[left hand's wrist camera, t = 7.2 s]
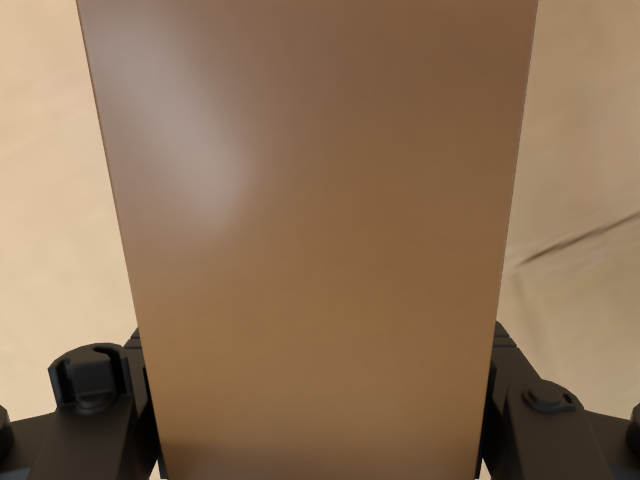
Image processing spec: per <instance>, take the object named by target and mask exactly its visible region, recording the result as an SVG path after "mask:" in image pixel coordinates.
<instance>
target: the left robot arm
mask: <svg viewBox="0 0 640 480" xmlns="http://www.w3.org/2000/svg"><path fill="white" fill-rule="evenodd" d="M48 372H49V376H50V380H51V384H52V388H53V392H54V396H55V400H56V404H57V408H56V410H55V412H53V413H49V414H46V415H41V416H37V417H32V418H27V419H23V420H18V421H13V422H10V419H9V416H8V413H7V410H6V409H5V408H3V407H2V406H1V405H0V480H149V477H150V475H151V472H152V470H153V468H154V465H155V463H156V461H157V460H158V466H159V472H160V478H161V479H167V476H166V470H165V465H164V460H163V455H162V449H161V444H160V439H159V434H158V428H157V423H156V418H155V413H154V407H153V402H152V397H151V392H150V386H149V381H148V376H147V371H146V366H145V360H144V355H143V350H142V345H141V339H140V334H139V329H138V327H137V329H136V330H135V332H134V333H133V334H132V336H131V339H129V340H128V341H127V343H126V344H125V345H124V347H122V346H121V345H117V344H113V343H94V344H90V345H85V346H81V347H78V348H76V349H74V350H71V351H69V352H66V353H65V354H63V355H62V356H60V357H59V358H57V359H56V360H55V361H54V362H53V363H52V364H51V365H50V367H49V368H48ZM482 458H483V459H484V462H485V464H486V466H487V469H488V471H489V473H490V476H491V480H640V403H639V404H638V405H637V406H635V407H634V408H633V411H632V414H631V418H630V420H626V419H621V418H617V417H612V416H607V415H603V414H598V413H594V412H590V411H587V410H584V407H583V405H582V404H581V403H580V401H579V400H578V398H577V397H576V396H575V395H574V394H572V393H571V392H570V391H568V390H567V389H566V388H564V387H562V386H560V385H558V384H555V383H553V382H551V381H547V380H543V379H541V378H540V376H539V375H538V374H537V372H536V371H535V370H534V368H533V367H532V366H531V364H530V363H529V361H528V360H527V359H526V357H525V356H524V355H523V353H522V352H521V351H520V349H519V348H517V345H516V344H515V342H514V341H513V340H512V338H509V334H508V333H507V332H506V330H505V329H504V328H503V326H502V325H501V323H499V322H498V321H496V322H495V330H494V337H493V345H492V353H491V360H490V368H489V375H488V383H487V390H486V398H485V405H484V413H483V421H482V428H481V436H480V443H479V451H478V458H477V466H476V473H475V479H479V476H480V470H481V464H482Z"/></svg>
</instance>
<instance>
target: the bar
mask: <svg viewBox="0 0 640 480" xmlns="http://www.w3.org/2000/svg"><path fill="white" fill-rule="evenodd" d="M76 4H77V9H78V15H79V20H80V25H81V30H82V35H83V41H84V46H85V51H86V56H87V62H88V67H89V72H90V77H91V83H92V88H93V93H94V98H95V104H96V109H97V114H98V119H99V125H100V130H101V135H102V140H103V146H104V151H105V156H106V161H107V166H108V172H109V177H110V182H111V187H112V193H113V198H114V203H115V208H116V214H117V219H118V224H119V229H120V235H121V240H122V245H123V250H124V256H125V261H126V266H127V271H128V276H129V282H130V287H131V292H132V297H133V303H134V308H135V313H136V318H137V324H138V329H139V334H140V339H141V345H142V350H143V355H144V360H145V366H146V371H147V376H148V381H149V386H150V392H151V397H152V402H153V407H154V413H155V418H156V423H157V428H158V434H159V439H160V444H161V449H162V455H163V460H164V465H165V470H166V476H167V480H475V473H476V466H477V458H478V451H479V443H480V436H481V428H482V421H483V413H484V405H485V398H486V390H487V383H488V375H489V368H490V360H491V353H492V345H493V337H494V330H495V322H496V315H497V307H498V300H499V292H500V285H501V277H502V269H503V262H504V254H505V247H506V239H507V232H508V224H509V217H510V209H511V201H512V194H513V186H514V179H515V171H516V164H517V156H518V149H519V141H520V133H521V126H522V118H523V111H524V103H525V96H526V88H527V80H528V73H529V65H530V58H531V50H532V43H533V35H534V28H535V20H536V12H537V5H538V0H76Z"/></svg>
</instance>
